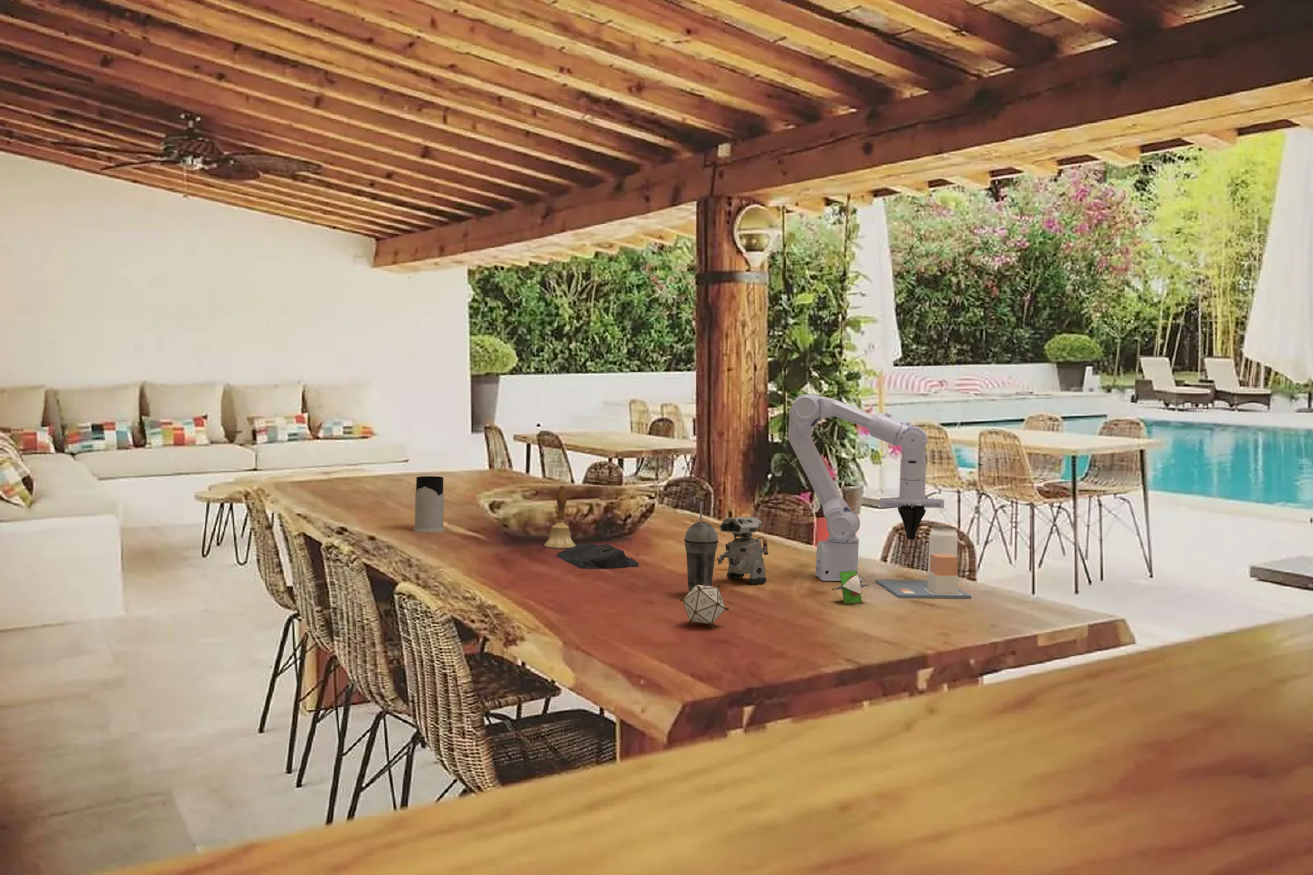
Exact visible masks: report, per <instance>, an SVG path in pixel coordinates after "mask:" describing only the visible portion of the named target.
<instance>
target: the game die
mask: <svg viewBox="0 0 1313 875" xmlns="http://www.w3.org/2000/svg"><path fill="white" fill-rule="evenodd" d="M695 585H696V586H695V587H694V588H693V589H692V590H691V591H690V592H689V591H688V593H687V595H685V596H684V598H681V597H679V598H678V600H679V601H680V602H682V604H683V606H684V608H685V611H686V614H687V617H688V619H689V621H687V626H688V625H691V624H692V623H695V624H696V623H698V624H706V625H710V626H711V627H710V628H712V629H714V627H715V625H714V624H713V623H715V622H716V620H717V619H718V618H719V617H720V616H721V614H723V613H724V611H730V610H731V609H730V608H729V607H726V606H725V603H724V600H723V598H722V593H721V591H720V587H721V585H722V584H721V583H718V585H716V586H713V585H712V586H706V585H698V584H697V582H696V581H695Z"/></svg>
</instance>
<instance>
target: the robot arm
mask: <svg viewBox="0 0 1313 875" xmlns="http://www.w3.org/2000/svg"><path fill="white" fill-rule="evenodd" d="M788 414H789V415H788V416H789V422H788V434H787V439H788V441H789V444H790V446H791V448H792V449H793V452H794V453H795V455H796V457H797V459H798V461H799V463H800V465H801V468H802V469H803V471H804V473H805V475H806V477H807V479H808V481H809V483H810V485H811V487H812V489H813V491H814V493H815V495H816V496H817V498H818V500H819V502H820V504H821V507H822V511H823V516H824V518H825V520H826V529H827V533H828V534H829V536H827V539H826V540H819V541H818V542H817V545H816V554H815V555H816V557H815V572H814V575H815V576H816V577H817V578H819V579H820V580H821V581H823V582H824V581H825V582H828V581H829V582H841V581H840V580H841V579H840V572H844V571H856V570H857V573H859V572H858V570H859V544H860V543H859V541H860V539H859V538H858V537H857V535H856V534H857V533H858V531H859V529H860V526H861V520H860V517H859V516H858V515H857V513H856V512H854V511H853V510H852V509H851V508H850V506H849V504H848V503H847V502H846V501H845V499H844V498H843V497H842V496H841V493H840V492H839V490H838V487H837V486H836V484H835V481H834V479H833V478H832V476H831V474H830V471H829V470H828V468H827V466H826V464H825V463H824V460H823V458H822V456H821V454H820V452H819V451H818V448H817V446H816V445H815V443H814V441H813V438H812V436H813V433H814V430H815V428H816V425H817V423H818V422H819V421H820V420H821V419H823V418H833V417H836V418H839V419H841V420H844V421H846V422H848V423H849V422H850V423H852V424H854V425H855V424H856V425H858V426H861V427H862V428H866V429H867V430H868V432H869V435H870V437H873V438H875V439H877V440H880V441H881V442H885V443H887V444H889V445H893V446H895V447H897V446H900V447H901V458H900V468H899V469H900V470H899V471H900V472H899V492H898V493H899V495H898V497H880V498H879V507H880V508H897V511H898V513H899V516H900V518H901V521H902V523H903V527H904V531H905V538H906V539H907V540H910V541H912V540H913V541H914V540H916V536H917V531H918V529H919V527H920V523H921V521H922V519H923V518H924V516H925V515H926V511H927V510H926V508H927V509H928V508H930V509H931V508H933V509H934V508H935V509H945V499H943V498H927V497H926V479H927V476H926V475H927V474H926V473H927V459H926V457H927V452H926V449H925V448H926V447H927V445H928V443H929V437H928V434H927V432H926V431H925V430H924V429H923V428H921V427H920V426H918V425H912V424H911V423H912V422H910V421H906V422H905V421H902V420H899V419H897V418H895V417H892V414H891V413H889V412H885V413H882V412H880V413H877V414H875V415H872V414H869V413H867V412H865V411H863V410H861V409H858V408H856V407H853V406H851V405H849V404H846V403H844V402H842V401H841V400H837V399H834V398H830V397H826V396H820V395H819V394H817V393H809V394H806V393H805V394H801V395H799V396H797V397H795V399H794V401H793V403H792V405H791V406H790V408H789V411H788ZM839 571H840V572H839ZM838 574H839V575H838ZM858 577H859V580H860V582H863V581H864V578H863V579H862V577H861V576H860V575H858Z"/></svg>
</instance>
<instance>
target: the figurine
mask: <svg viewBox="0 0 1313 875" xmlns="http://www.w3.org/2000/svg"><path fill="white" fill-rule="evenodd" d="M762 524H763V522H762V521H761V520H760V519H759V518H758V517H752V516H737V515H735V516H734V517H726V518H725V519H724V520H723V521H722V522H721V524H720V525H719V530H720V532H721V533H731V534H732V535H733V538H734V539H732V541H728V542H727V543H725V551H724V552H723V554H719V557H718V556H717V557H716V560H717V562H718V563H717V566H719V565H720V564H721V565H722V564H723V561H724V560H725V558H726V559H728V569H727V572H726V578H727V579H729V580H735V579H743V577H745V575H748V574H749V578H748V584H749V585H751V586H757V585H765V583H767V577H766V567H765V562H764V558H763V556H767V555H769V548H768V540H766V539H765V537H763V536H759V537H758V538H757V539H756V538H753V537H752V536H753V533H754V534H755V533H757V530H758V528H761V527H762ZM761 539H763V540H762V541H761Z"/></svg>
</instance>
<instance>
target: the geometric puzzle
mask: <svg viewBox="0 0 1313 875" xmlns="http://www.w3.org/2000/svg"><path fill="white" fill-rule="evenodd" d="M839 572H840V571H839ZM838 575H839V574H838ZM858 576H859V573H858V572H857V570H856V571H844V572H840V579H841V580H840V581H839V582H840V585H841V586H837V587H836V588H835V587H834V588H831V591H833V593H835V595H838V593H837V592H835V590H841V591H842V596H840V599H841V598H842V597H843V598H842V600H843V602H844V605H845V604H858V603H859V604H860V603H861V604H863V600H864V599H862V591H861V590H862V588H864V587H866V588H869V587H870V585H871V584H870V583H869V582H867V581H866V583H867V584H861V581H860V580H859V577H860V576H859V577H858ZM861 579H863V580H864V577H861ZM866 593H867V592H866ZM866 593H864V595H866Z"/></svg>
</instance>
